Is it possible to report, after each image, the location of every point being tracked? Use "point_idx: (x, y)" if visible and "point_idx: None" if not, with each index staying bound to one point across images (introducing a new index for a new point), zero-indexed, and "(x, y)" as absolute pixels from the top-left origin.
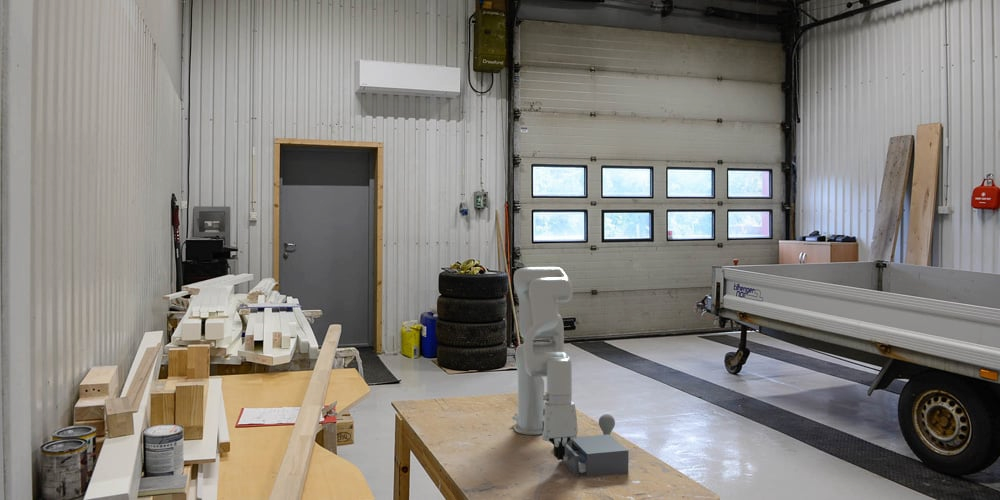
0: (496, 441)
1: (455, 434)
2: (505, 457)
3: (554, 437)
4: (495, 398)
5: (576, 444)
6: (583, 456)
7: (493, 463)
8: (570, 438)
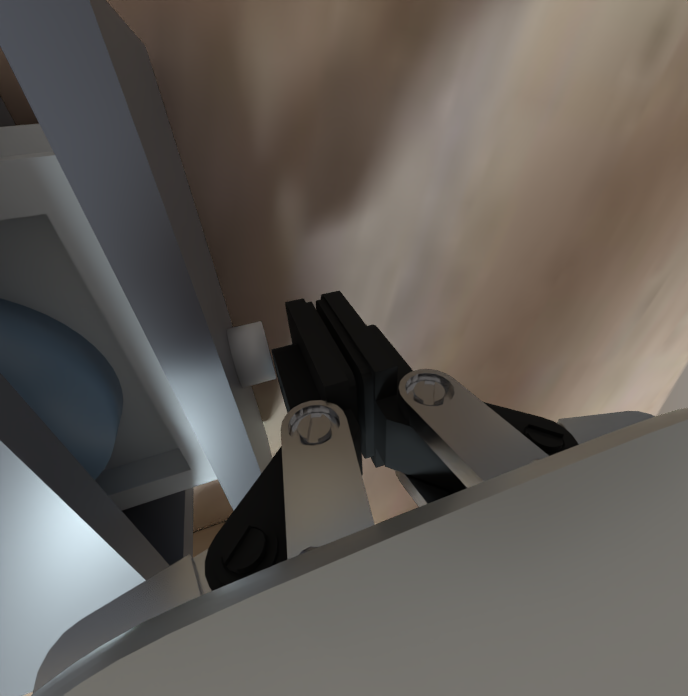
0: None
1: None
2: None
3: (661, 431)
4: None
5: (114, 532)
6: (30, 389)
7: (574, 363)
8: (205, 568)
